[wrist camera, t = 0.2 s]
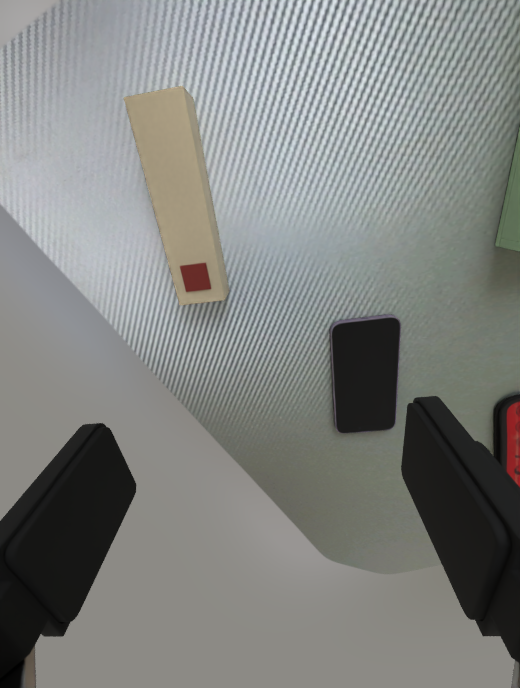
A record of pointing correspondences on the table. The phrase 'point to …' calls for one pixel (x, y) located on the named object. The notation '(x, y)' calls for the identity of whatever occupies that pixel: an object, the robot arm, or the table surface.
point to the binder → (508, 436)
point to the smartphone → (365, 373)
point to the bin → (511, 207)
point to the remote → (180, 191)
